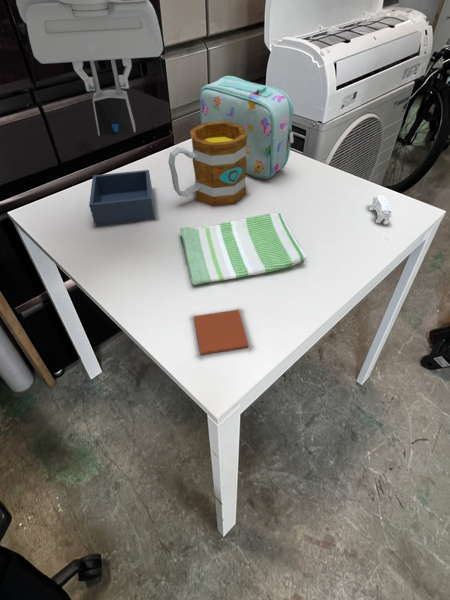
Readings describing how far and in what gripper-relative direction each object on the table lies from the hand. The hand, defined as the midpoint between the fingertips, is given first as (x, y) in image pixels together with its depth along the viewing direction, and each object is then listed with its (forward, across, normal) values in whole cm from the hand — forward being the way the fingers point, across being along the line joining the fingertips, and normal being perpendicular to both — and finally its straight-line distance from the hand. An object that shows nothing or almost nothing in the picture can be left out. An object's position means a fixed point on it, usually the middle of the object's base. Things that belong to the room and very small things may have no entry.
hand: (108, 89), depth 64 cm
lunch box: (+29, +31, +23) cm, 48 cm away
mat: (+29, +12, -34) cm, 46 cm away
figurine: (+28, +55, -8) cm, 63 cm away
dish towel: (+29, +21, -13) cm, 38 cm away
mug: (+29, +18, +10) cm, 36 cm away
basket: (+29, -2, +9) cm, 30 cm away
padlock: (+7, 0, 0) cm, 7 cm away
